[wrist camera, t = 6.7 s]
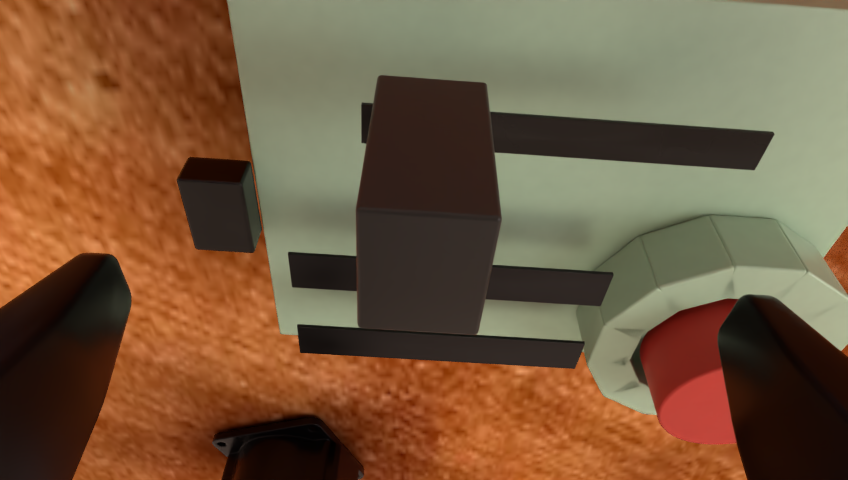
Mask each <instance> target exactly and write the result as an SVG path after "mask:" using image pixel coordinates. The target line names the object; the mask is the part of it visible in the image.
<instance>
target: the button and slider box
mask: <svg viewBox="0 0 848 480" xmlns="http://www.w3.org/2000/svg"><path fill="white" fill-rule="evenodd" d="M227 4H228V10H229V16H230V22H231V29H232V35H233V41H234V47H235V54H236V60H237V66H238V72H239V79H240V85H241V91H242V97H243V104H244V110H245V116H246V123H247V129H248V135H249V141H250V148H251V154H252V160H253V166H254V173H255V179H256V185H257V191H258V198H259V204H260V210H261V216H262V223H263V229H264V235H265V241H266V248H267V254H268V260H269V266H270V273H271V279H272V285H273V291H274V298H275V304H276V310H277V317H278V323H279V329H280V334H288V335H298V331H297V325H298V324H304V325H321V326H338V327H355V328H359V326H358V324H357V291H342V290H326V289H309V288H293V287H292V283H291V275H290V268H289V260H288V252H301V253H317V254H333V255H349V256H356V204H357V198H358V192H359V186H360V180H361V174H362V168H363V162H364V156H365V150H366V144H364V143H361V103H362V102H364V103H373V101H374V95H375V89H376V83H377V78H378V76H379V75H388V76H402V77H415V78H429V79H443V80H457V81H471V82H484V83H486V84H487V89H488V98H489V107H490V112H505V113H519V114H533V115H547V116H561V117H575V118H589V119H603V120H617V121H631V122H645V123H659V124H673V125H688V126H702V127H716V128H730V129H744V130H758V131H772V132H774V134H775V135H774V137H773V138H772V140H771V142H770V144H769V146H768V147H767V149H766V151H765V153H764V155H763V156H762V158H761V160H760V162H759V164H758V165H757V167H756V169H755V170H741V169H726V168H712V167H697V166H683V165H668V164H654V163H639V162H625V161H610V160H596V159H581V158H567V157H552V156H538V155H523V154H509V153H495V160H496V169H497V178H498V187H499V196H500V205H501V214H502V222H501V227H500V232H499V236H498V241H497V246H496V251H495V256H494V260H493V265H507V266H523V267H538V268H554V269H570V270H586V271H602V272H613V274H614V276H613V278H612V280H611V283H610V285H609V288H608V290H607V292H606V295H605V297H604V300H603V302H602V304H601V306H586V305H570V304H553V303H537V302H521V301H505V300H488V299H485V303H484V308H483V313H482V318H481V322H480V327H479V331H478V333H477V334H476V335H489V336H506V337H522V338H539V339H556V340H573V341H585V345H584V348H583V350H582V352H584V353H585V358H586V363H587V366H588V368H589V370H590V372H591V374H592V375H593V377H594V379H595V381H596V383H597V385H598V387H599V389H600V391H601V393H602V395H604V396H605V397H607V398H609V399H611V400H613V401H616V402H618V403H620V404H622V405H625V406H627V407H629V408H631V409H634V410H636V411H638V412H640V413H643V414H653V415H657V413H656V410H655V407H654V403H653V400H652V396H651V393H650V390H649V386H648V383H647V379H646V376H645V373H644V369H643V366H642V362H641V359H640V346H641V343H642V340H643V338H644V336H645V335H646V333H647V332H648V331H649V330H651V329H653V328H654V327H656V326H657V325H659V324H660V323H662V322H663V321H665V320H666V319H668V318H669V317H671V316H672V315H674V314H675V313H677V312H678V311H681V310H684V309H688V308H692V307H696V306H700V305H704V304H707V303H711V302H715V301H719V300H723V299H727V298H729V299H739V298H740V297H742V296H743V295H746V294H755V295H769V296H773V297H775V298H777V299H778V300H780V301H781V302H782V303H783V304H785V305H786V306H787V307H788V308H789V309H791V310H792V311H793V312H794V313H795V314H797V315H798V316H799V317H800V318H802V319H803V320H804V321H805V322H806V323H808V324H809V325H810V326H811V327H812V328H814V329H815V330H816V331H817V332H818V333H820V334H821V335H822V336H823V337H824V338H826V339H827V340H828V341H829V342H830V343H832V344H833V345H834V346H835V347H836V348H838V349H839V350H840V351H841V350H842V349H843V348H844V347H845V346H846V345H847V344H848V295H847V294H846V292H845V290H844V289H843V287H842V286H841V284H840V283H839V281H838V280H837V278H836V277H835V275H834V274H833V272H832V271H831V269H830V268H829V266H828V265H827V263H826V262H825V260H824V259H823V257H824V256H825V255H826V253H827V252H828V251H829V249H830V248H831V247H832V245H833V244H834V243H835V241H836V240H837V239H838V237H839V236H840V235H841V233H842V232H843V231H844V229H845V228H846V227H847V225H848V0H227Z"/></svg>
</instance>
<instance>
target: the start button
mask: <svg viewBox="0 0 848 480" xmlns="http://www.w3.org/2000/svg"><path fill="white" fill-rule="evenodd" d="M737 301H738V299H729V298H727V299H723V300H719V301H715V302H711V303H707V304H704V305H700V306H696V307H692V308H688V309H684V310H681V311H678V312H677V313H675V314H674V315H672V316H671V317H669V318H668V319H666V320H665V321H663V322H662V323H660V324H659V325H657V326H656V327H654V328H653V329H651V330H649V331H648V332H647V333H646V335H645V336H644V338H643V340H642V343H641V346H640V359H641V362H642V366H643V369H644V373H645V376H646V379H647V383H648V386H649V390H650V393H651V396H652V400H653V403H654V407H655V410H656V413H657V417H658V420H659V422H660V424H661V426H662V427H663V428H664V429H665V430H666V431H667V432H668V433H670V434H671V435H673V436H675V437H677V438H679V439H682V440H685V441H689V442H694V443H701V444H731V443H737V442H736V439H735V434H734V430H733V425H732V420H731V415H730V409H729V404H728V398H727V393H726V387H725V382H724V376H723V371H722V366H721V360H720V355H719V349H718V343H717V337H718V332H719V329H720V327H721V325H722V324H723V322H724V320H725V319H726V317H727V316H728V314H729V313H730V311H731V310H732V308H733V307H734V305H735V304H736V302H737Z"/></svg>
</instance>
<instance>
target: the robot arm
mask: <svg viewBox="0 0 848 480" xmlns="http://www.w3.org/2000/svg"><path fill="white" fill-rule="evenodd" d="M130 308H131V292H130V289H129V287H128V284H127V282H126V280H125V277H124V275H123V272H122V270H121V267H120V265H119V263H118V261H117V259H116V258H115V257H114V256H113V255H110V254H102V253H82V254H80V255H78V256H76V257H74V258H73V259H71V260H70V261H69V262H67V263H66V264H64V265H63V266H61V267H60V268H58V269H57V270H55V271H54V272H52V273H51V274H50V275H48V276H47V277H45V278H44V279H42V280H41V281H39V282H38V283H36V284H35V285H33V286H32V287H31V288H29V289H28V290H26V291H25V292H23V293H22V294H20V295H19V296H17V297H16V298H14V299H13V300H12V301H10V302H9V303H7V304H6V305H4V306H3V307H1V308H0V480H72V479H73V476H74V474H75V471H76V469H77V466H78V464H79V462H80V459H81V457H82V454H83V452H84V450H85V447H86V445H87V442H88V440H89V438H90V435H91V433H92V430H93V428H94V425H95V423H96V421H97V418H98V416H99V413H100V410H101V408H102V405H103V402H104V399H105V396H106V393H107V390H108V386H109V383H110V379H111V376H112V372H113V369H114V365H115V362H116V358H117V355H118V351H119V347H120V344H121V340H122V337H123V333H124V330H125V326H126V323H127V319H128V316H129V312H130ZM717 343H718V349H719V355H720V360H721V366H722V371H723V376H724V382H725V387H726V393H727V398H728V404H729V409H730V415H731V420H732V425H733V430H734V434H735V439H736V442H737V446H738V450H739V453H740V457H741V460H742V463H743V467H744V470H745V473H746V477H747V480H848V357H847V356H846V355H845V354H844V353H843V352H841V351H840V350H839V349H838V348H836V347H835V346H834V345H833V344H832V343H830V342H829V341H828V340H827V339H826V338H824V337H823V336H822V335H821V334H820V333H818V332H817V331H816V330H815V329H814V328H812V327H811V326H810V325H809V324H808V323H806V322H805V321H804V320H803V319H802V318H800V317H799V316H798V315H797V314H795V313H794V312H793V311H792V310H791V309H789V308H788V307H787V306H786V305H785V304H783V303H782V302H781V301H780V300H778V299H777V298H775V297H773V296H769V295H755V294H746V295H743V296H742V297H740V298H739V299H738V301H737V302H736V304H735V305H734V307H733V308H732V310H731V311H730V313H729V314H728V316H727V317H726V319H725V320H724V322H723V324H722V325H721V327H720V329H719V332H718V337H717ZM212 444H213V445H214V446H215V447H216V448H217V449H218V450H220V451H221V452H222V453H223V454H224V455H225V456H227V457H228V458H227V462H226V465H225V469H224V472H223V476H222V480H358V479H361V478H363V476H364V468H363V467H362V465H361V464H360V463H359V462H358V461H357V460H356V459H355V457H354V456H353V455H352V454H351V453H350V452H349V451H348V450H347V448H346V447H345V446H344V445H343V444H342V443H341V442H340V440H339V439H338V438H337V437H336V436H335V435H334V434H333V432H332V431H331V430H330V429H329V428H328V427H327V426H326V425H325V423H324V422H323V421H322V420H320V419H318V418H314V417H310V418H304V419H298V420H292V421H286V422H280V423H274V424H269V425H263V426H257V427H251V428H245V429H239V430H233V431H227V432H222V433H217V434H215V435H214V438H213V442H212Z"/></svg>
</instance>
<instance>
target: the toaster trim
mask: <svg viewBox="0 0 848 480" xmlns="http://www.w3.org/2000/svg"><path fill="white" fill-rule="evenodd" d="M372 107H373V103H364V102H362V103H361V143H364V144H366V143H367V137H368V131H369V125H370V119H371V113H372ZM490 116H491V125H492V133H493V142H494V151H495V153H509V154H523V155H538V156H552V157H567V158H581V159H596V160H610V161H625V162H639V163H654V164H668V165H683V166H697V167H712V168H726V169H741V170H755V169H756V167H757V165H758V164H759V162H760V160H761V158H762V156H763V155H764V153H765V151H766V149H767V147H768V146H769V144H770V142H771V140H772V138H773V137H774V135H775V134H774V132H772V131H758V130H744V129H730V128H716V127H702V126H688V125H673V124H659V123H645V122H631V121H617V120H603V119H589V118H575V117H561V116H547V115H533V114H519V113H505V112H490ZM177 183H178V187H179V190H180V194H181V198H182V201H183V205H184V209H185V212H186V216H187V220H188V223H189V227H190V230H191V234H192V238H193V241H194V245H195V248H196V249H198V250H213V251H229V252H244V253H253V252H254V251H255V248H256V245H257V242H258V239H259V236H260V233H261V230H262V227H261V221H260V215H259V209H258V203H257V197H256V191H255V184H254V178H253V172H252V166H251V162H250V161H243V160H229V159H214V158H199V157H189V158H188V159H187V161H186V163H185V165H184V167H183V169H182V171H181V172H180V174H179V176H178V178H177ZM288 260H289V268H290V275H291V283H292V287H293V288H309V289H326V290H342V291H357V266H356V256H349V255H333V254H317V253H301V252H288ZM613 276H614V274H613V272H602V271H586V270H570V269H554V268H538V267H523V266H507V265H492V270H491V275H490V279H489V284H488V289H487V294H486V298H485V299H488V300H505V301H521V302H537V303H553V304H570V305H586V306H601V304H602V302H603V300H604V297H605V295H606V292H607V290H608V288H609V285H610V283H611V280H612V278H613ZM297 331H298V339H299V346H300V353H315V354H332V355H349V356H366V357H383V358H401V359H418V360H435V361H452V362H469V363H486V364H504V365H521V366H538V367H555V368H572V369H575V367H576V364H577V362H578V360H579V357H580V355H581V352H582V350H583V348H584V345H585V341H573V340H556V339H539V338H522V337H506V336H489V335H466V334H449V333H432V332H415V331H398V330H382V329H365V328H355V327H338V326H321V325H304V324H298V325H297Z"/></svg>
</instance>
